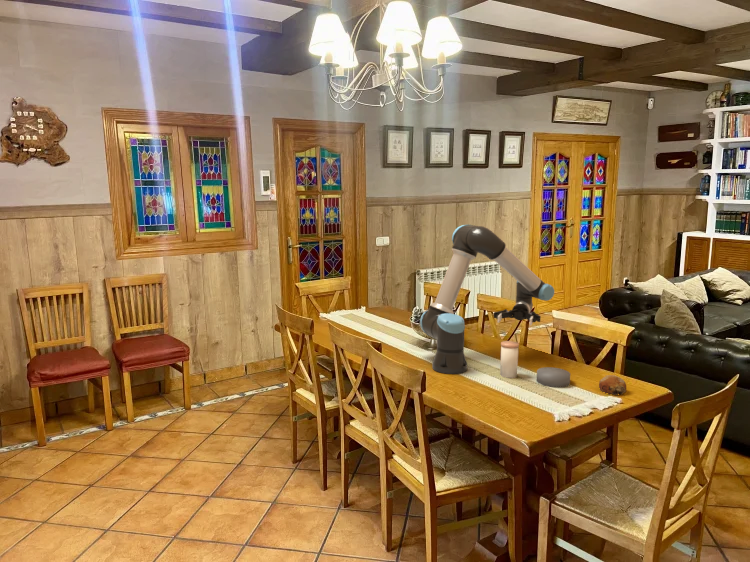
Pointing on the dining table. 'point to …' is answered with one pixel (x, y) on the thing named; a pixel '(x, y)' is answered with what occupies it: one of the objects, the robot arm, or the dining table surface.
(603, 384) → the bread roll
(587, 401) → the dining table surface
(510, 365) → the canister
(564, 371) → the plinth
